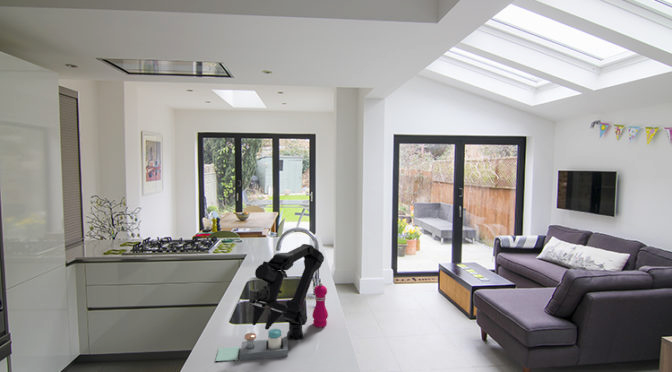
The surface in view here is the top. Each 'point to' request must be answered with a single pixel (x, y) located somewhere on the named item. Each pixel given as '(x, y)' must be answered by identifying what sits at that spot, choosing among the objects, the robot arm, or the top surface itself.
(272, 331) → the cylinder
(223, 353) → the mat
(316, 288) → the pepper mill
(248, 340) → the plunger
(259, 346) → the housing
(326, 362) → the top surface
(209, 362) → the top surface
